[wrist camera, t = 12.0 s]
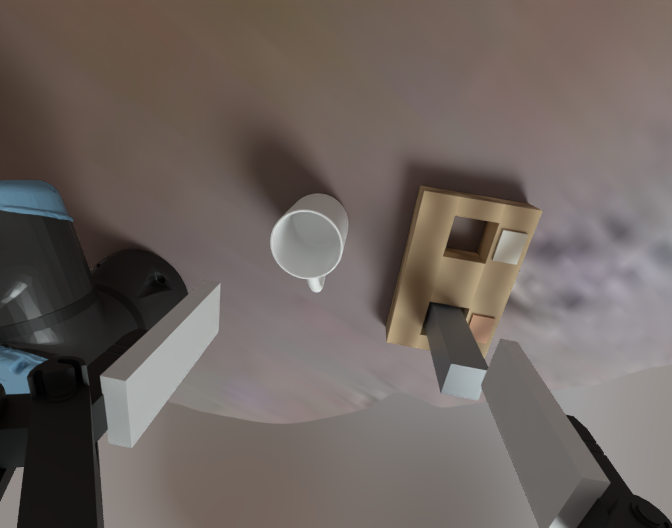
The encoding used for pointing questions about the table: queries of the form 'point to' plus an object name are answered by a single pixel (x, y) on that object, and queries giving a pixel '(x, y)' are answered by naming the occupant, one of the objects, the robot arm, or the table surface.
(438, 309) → the plug
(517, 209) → the port block
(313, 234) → the mug
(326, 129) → the table surface
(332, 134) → the table surface
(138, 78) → the table surface
